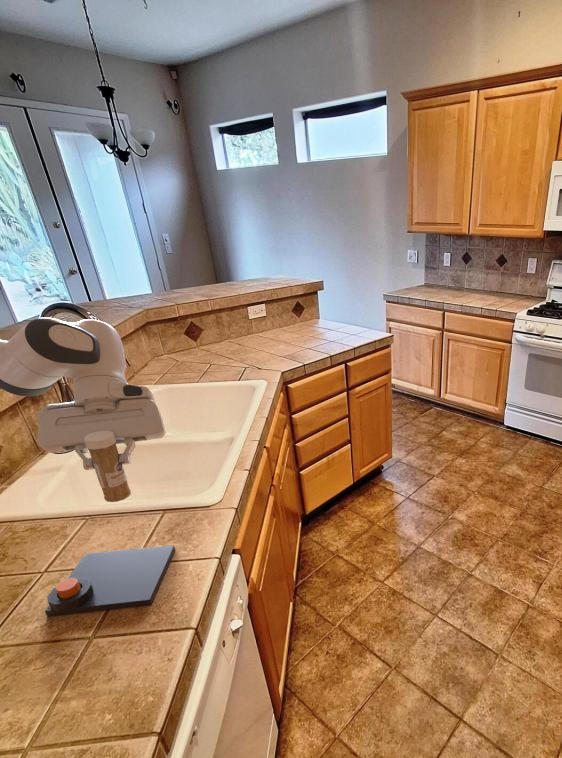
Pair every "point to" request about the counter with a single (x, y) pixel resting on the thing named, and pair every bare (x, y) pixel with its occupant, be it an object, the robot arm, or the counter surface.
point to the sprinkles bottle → (108, 465)
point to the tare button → (68, 588)
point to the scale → (114, 581)
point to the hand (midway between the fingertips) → (107, 466)
